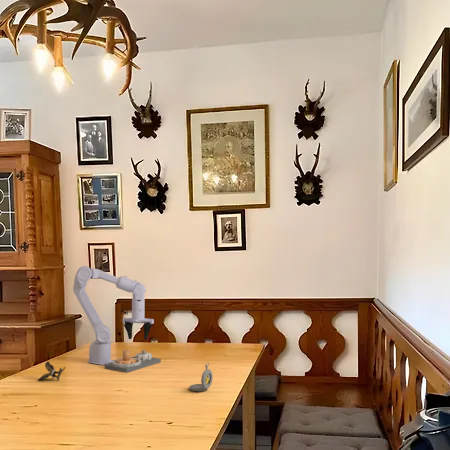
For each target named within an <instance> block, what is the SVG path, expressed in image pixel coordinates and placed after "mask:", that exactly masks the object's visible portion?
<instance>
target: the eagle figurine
mask: <svg viewBox="0 0 450 450" xmlns="http://www.w3.org/2000/svg"><path fill="white" fill-rule="evenodd" d="M44 366H45V369H46V370H47V371H48V373H45V374H43V375H41V376H40V377H39V378H38V379H37V381H40V380H43V379H47V378H49V377H51V378H53V379H55V378H56V379H57V381H59V380H60V377H61V375H62V373H63V372H64V371H65V369H66V366H64V367H63V368H61V367H59V370H58V371H56V367H54V365H53V364H51V362H50V361H46V362H45V365H44ZM56 374H57V375H56Z"/></svg>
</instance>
